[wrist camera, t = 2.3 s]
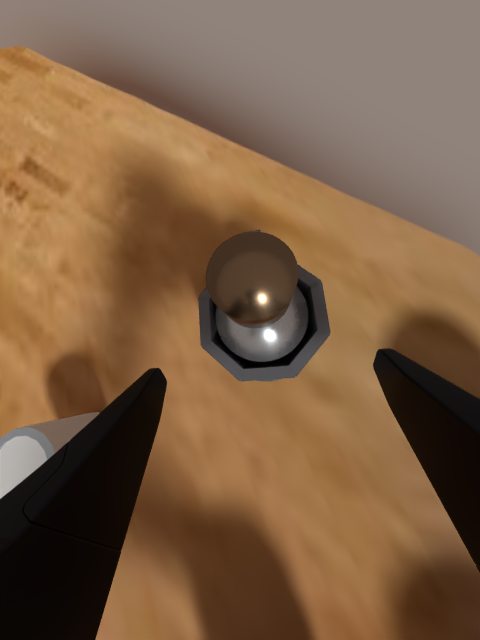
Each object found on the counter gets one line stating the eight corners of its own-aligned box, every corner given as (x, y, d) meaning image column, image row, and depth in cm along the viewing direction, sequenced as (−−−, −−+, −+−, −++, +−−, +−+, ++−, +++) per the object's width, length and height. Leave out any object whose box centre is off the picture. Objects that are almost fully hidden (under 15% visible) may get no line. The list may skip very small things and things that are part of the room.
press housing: (324, 375, 20) (354, 387, 13) (217, 383, 22) (191, 398, 14) (305, 258, 23) (322, 212, 15) (210, 271, 24) (184, 235, 17)
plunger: (313, 357, 14) (367, 360, 6) (220, 365, 15) (165, 376, 7) (300, 268, 16) (331, 176, 8) (215, 280, 17) (162, 209, 8)
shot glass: (132, 426, 22) (71, 457, 16) (100, 485, 22) (22, 545, 15) (86, 394, 24) (12, 411, 17) (55, 450, 23) (-34, 489, 16)
